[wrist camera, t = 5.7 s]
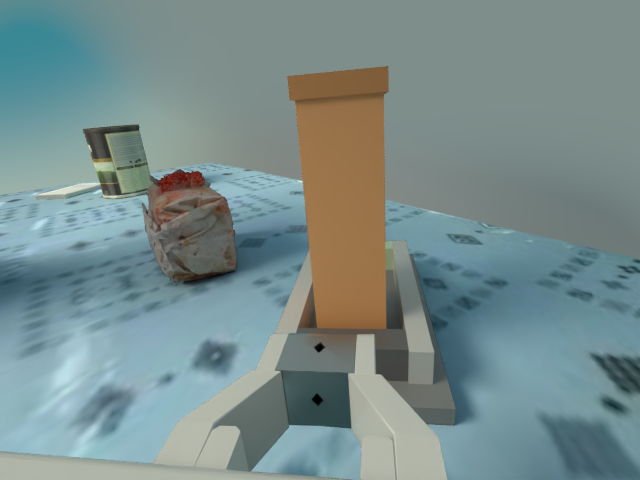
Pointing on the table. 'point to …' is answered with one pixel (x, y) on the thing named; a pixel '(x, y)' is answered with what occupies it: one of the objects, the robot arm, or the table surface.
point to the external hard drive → (69, 191)
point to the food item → (189, 227)
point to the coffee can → (119, 160)
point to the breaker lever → (344, 192)
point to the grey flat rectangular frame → (390, 335)
